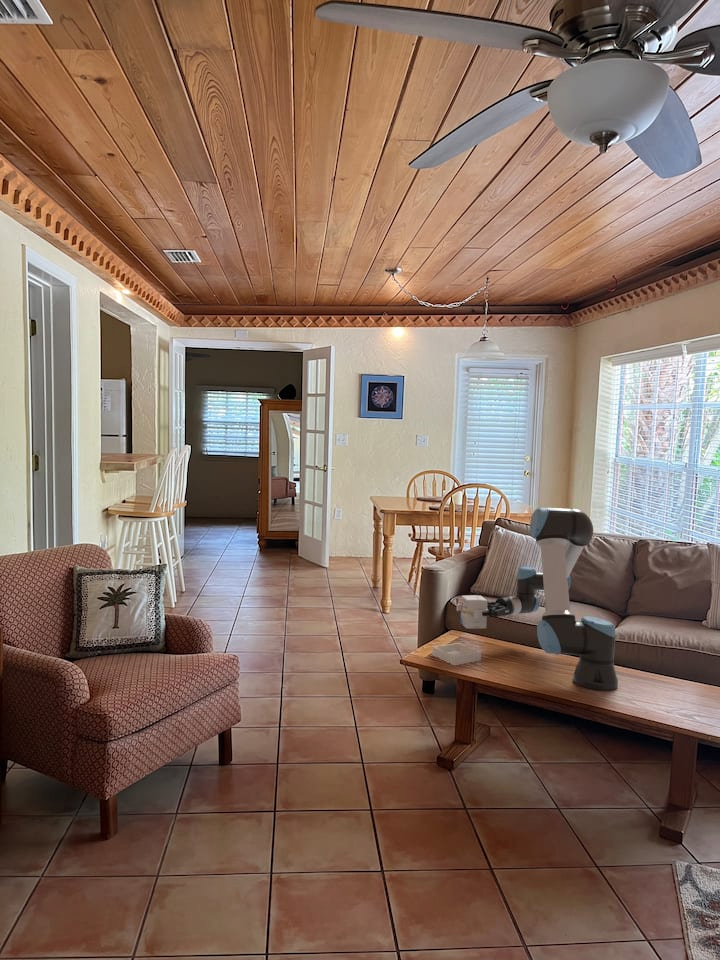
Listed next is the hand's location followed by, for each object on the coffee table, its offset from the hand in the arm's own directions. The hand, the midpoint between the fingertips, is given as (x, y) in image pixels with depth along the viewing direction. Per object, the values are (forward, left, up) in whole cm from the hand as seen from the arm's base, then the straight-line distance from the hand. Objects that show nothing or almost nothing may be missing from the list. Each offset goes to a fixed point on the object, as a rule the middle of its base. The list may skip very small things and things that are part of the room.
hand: (465, 610), depth 263 cm
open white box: (-2, +6, -18) cm, 19 cm away
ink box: (0, -4, -7) cm, 8 cm away
